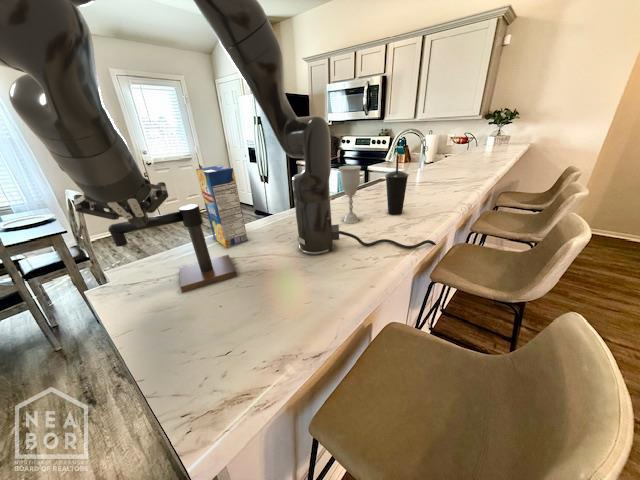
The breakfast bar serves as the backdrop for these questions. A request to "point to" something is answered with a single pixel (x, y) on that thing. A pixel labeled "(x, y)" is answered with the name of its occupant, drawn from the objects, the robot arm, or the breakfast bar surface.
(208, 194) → the blue and yellow box
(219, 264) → the base
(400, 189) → the drinking cup
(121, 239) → the spout
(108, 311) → the breakfast bar surface
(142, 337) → the breakfast bar surface
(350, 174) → the chalice
